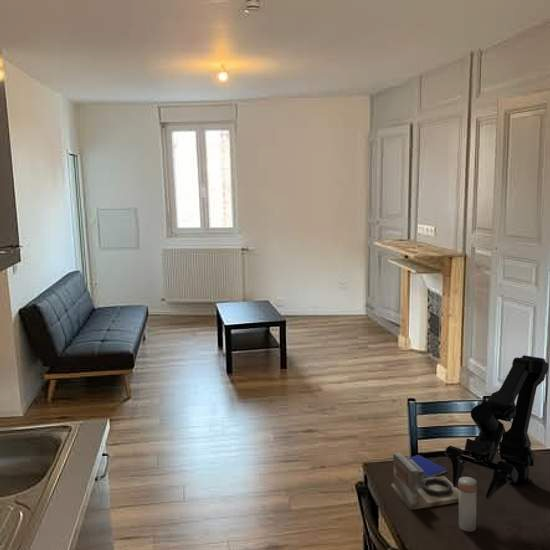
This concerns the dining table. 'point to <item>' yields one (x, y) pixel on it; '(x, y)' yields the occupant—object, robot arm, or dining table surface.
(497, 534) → the dining table surface
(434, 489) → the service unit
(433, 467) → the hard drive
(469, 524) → the cartridge
